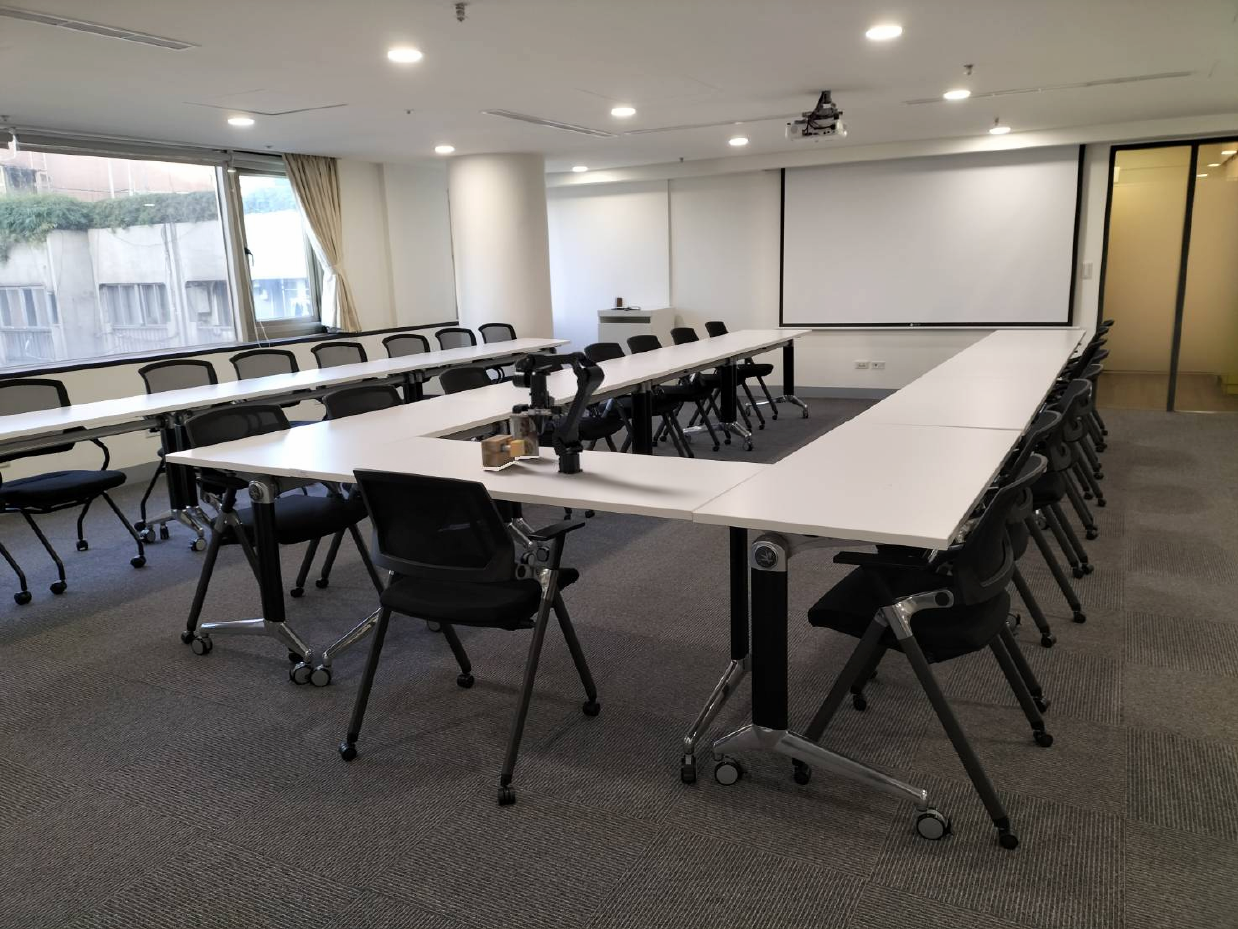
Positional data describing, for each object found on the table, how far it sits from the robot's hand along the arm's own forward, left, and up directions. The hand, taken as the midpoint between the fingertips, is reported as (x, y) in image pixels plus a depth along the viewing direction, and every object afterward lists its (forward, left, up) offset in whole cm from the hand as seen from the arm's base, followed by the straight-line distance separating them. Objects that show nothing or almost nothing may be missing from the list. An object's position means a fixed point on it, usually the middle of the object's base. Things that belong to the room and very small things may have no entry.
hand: (541, 433), depth 304 cm
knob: (+8, +6, -7) cm, 13 cm away
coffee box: (+17, -12, -12) cm, 24 cm away
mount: (+15, +5, -12) cm, 20 cm away
